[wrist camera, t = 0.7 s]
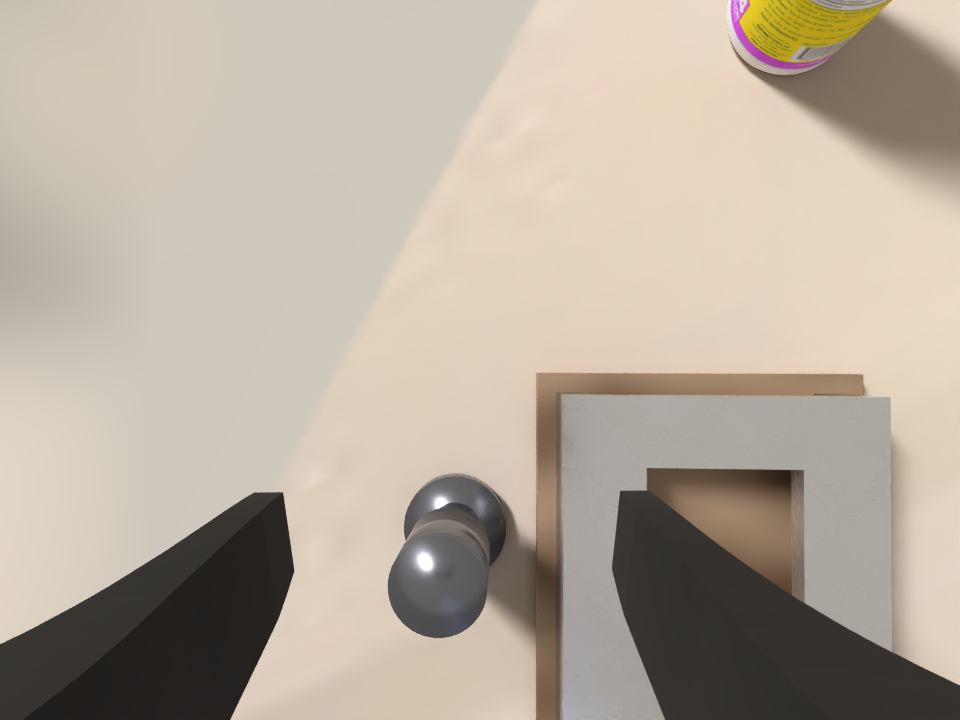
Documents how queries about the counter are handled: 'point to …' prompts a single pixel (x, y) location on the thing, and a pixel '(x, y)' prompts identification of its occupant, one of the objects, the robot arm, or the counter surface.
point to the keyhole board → (674, 488)
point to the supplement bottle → (795, 30)
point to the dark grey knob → (446, 555)
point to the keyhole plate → (714, 445)
